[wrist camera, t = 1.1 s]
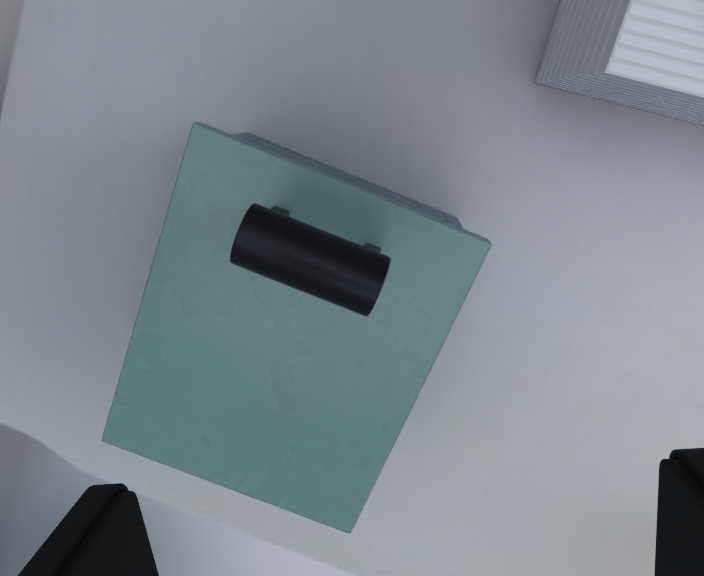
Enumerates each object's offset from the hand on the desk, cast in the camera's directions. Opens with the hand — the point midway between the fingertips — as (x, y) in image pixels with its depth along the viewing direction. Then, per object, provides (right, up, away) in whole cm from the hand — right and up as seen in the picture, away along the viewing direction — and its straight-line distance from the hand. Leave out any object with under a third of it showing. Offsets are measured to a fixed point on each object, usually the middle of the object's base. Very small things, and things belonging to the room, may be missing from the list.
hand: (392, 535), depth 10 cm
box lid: (-4, +2, +16) cm, 16 cm away
